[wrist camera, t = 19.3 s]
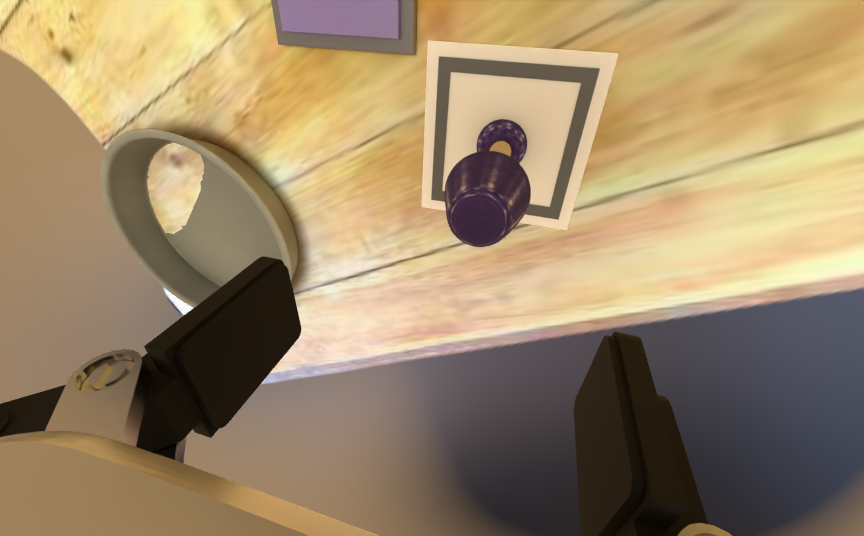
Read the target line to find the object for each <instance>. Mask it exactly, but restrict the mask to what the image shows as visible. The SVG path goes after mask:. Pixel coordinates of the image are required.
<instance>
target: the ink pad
mask: <svg viewBox="0 0 864 536" xmlns="http://www.w3.org/2000/svg"><path fill="white" fill-rule="evenodd" d="M271 1H272V7H273V13H274V20H275V26H276V32H277V38H278V45H291V46H305V47H318V48H331V49H344V50H357V51H370V52H384V53H397V54H410V55H415V54H416V31H417V0H271Z"/></svg>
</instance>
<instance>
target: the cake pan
mask: <svg viewBox="0 0 864 536" xmlns="http://www.w3.org/2000/svg"><path fill="white" fill-rule="evenodd" d="M173 142H175V143H178V144H180V145H183V146H185V147H188V148H190V149H192V150H194V151H195V152H197V153H199V154H201V156H202V159H203V162H204V174H203V180H202V181H201V191H200V194H199V196H198V199H197V201H196V203H195V205H194V208H193V210H192V212H191V215H190V217H189V219H188V222H187V224H186V225H185V226H182V227H183V229H181V230H180V231H178V232H176V233H175V234H170V233H165V232H164V230H163V229H162V227H161V225H160V223H159V221H158V219H157V218H156V215H155V213H154V210H153V208H152V205H151V202H150V198H149V193H148V185H147V179H148V170H149V165H150V163H151V161H152V159H153V157H154V155H155V154H156V153H157V152H158V151H159V150H160V149H161V148H162V147H164V146H165V145H167V144H170V143H173ZM100 179H101V189H102V193H103V198H104V202H105V205H106V208H107V211H108V213H109V216H110V218H111V220H112V223H113V224H114V227H115V229H116V230H117V232H118V234H119V236H120V237H121V239H122V240H123V242H124V244H125V245H126V246H127V248H128V249H129V251H130V252H131V253H132V255H133V256H134V257H135V258H136V260H137V261H138V262H139V263H140V264H141V265H142V267H143V268H144V269H145V270H146V271H147V272H148V273H149V274H150V275H151V276H152V277H153V278H154V279H155V280H156V281H158V282H159V283H160V284H161V285H162V286H163V287H164V288H166V289H167V290H168V291H169V292H171V293H172V294H173V295H175V296H176V297H177V298H179V299H180V300H182V301H183V302H185V303H187V304H188V305H190V306H192V307H194V308H195V307H196V306H197V305H199V304H200V303H201V302H202V301H204V300H205V299H206V298H208V297H209V296H210V295H211V294H213V293H214V292H215V291H217V290H218V289H219V288H221V287H222V286H223V285H224V284H226V283H227V282H228V281H230V280H231V279H232V278H234V277H235V276H236V275H237V274H239V273H240V272H241V271H243V270H244V269H245V268H246V267H248V266H249V265H250V264H252V263H253V262H254V261H256V260H257V259H258V258H260V257H262V256H266V257H271V258H275V259H280V260H282V261H283V262H284V265H285V266H287V268H288V271H289V275H290V280H291V282H292V278H293V276H294V274H295V271H296V268H297V263H298V243H297V238H296V234H295V230H294V227H293V224H292V222H291V220H290V217H289V215H288V213H287V211H286V209H285V208H284V206H283V204H282V203H281V201H280V199H279V198H278V196H277V195H276V194H275V192H274V191H273V190H272V188H271V187H270V186H269V185H268V184H267V182H266V181H265V180H264V179H263V178H262V177H261V176H260V175H259V174H258V173H257V172H256V171H255V170H254V169H253V168H251V167H250V166H249V165H248V164H247V163H245V162H244V161H243V160H241V159H240V158H238V157H237V156H235V155H234V154H232V153H231V152H229V151H227V150H225V149H223V148H221V147H219V146H217V145H214V144H212V143H209V142H206V141H202V140H197V139H188V138H185V137H183V136H180V135H178V134H175V133H171V132H167V131H163V130H157V129H136V130H131V131H129V132H125V133H123V134H122V135H120V136H118V137H117V138H116V139H115V140H114V141H113V142H112V143H111V144H110V145H109V147H108V148H107V150H106V152H105V154H104V157H103V159H102V164H101V174H100Z"/></svg>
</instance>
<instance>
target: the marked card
mask: <svg viewBox="0 0 864 536" xmlns="http://www.w3.org/2000/svg"><path fill="white" fill-rule="evenodd" d="M618 56H619V53H608V52H593V51H579V50H564V49H549V48H534V47H519V46H504V45H489V44H475V43H460V42H445V41H430V40H428V48H427V75H426V101H425V128H424V154H423V181H422V207H425V208H431V209H438V210H444V211H446V207H445V197H444V192H445V184H446V181H447V178H448V176H449V174H450V172H451V170H452V169H453V167H454V166H455V165H456V164H457V163H458V162H459V161H460V160H462V159H463V158H464V157H466V156H468V155H470V154H472V153H476V152H477V139H478V136H479V134H480V132H481V131H482V129H483V128H484V127H485V126H486V125H488V124H489V123H490V122H492V121H495V120H499V119H506V120H511V121H513V122H515V123H517V124H518V125H519V126H521V128H522V129H523V131H524V132H525V134H526V138H527V150H526V153H525V156H524V158H523V159H522V161H521V162H520V163H519V164H520V165H521V166H522V168H523V169H524V171H525V172H526V174H527V176H528V179H529V183H530V187H531V198H530V203H529V206H528V209H527V211H526V213H525V215H524V216H523V218H522V219H521V220H520V222H519V223H524V224H530V225H537V226H543V227H549V228H555V229H561V230H567V228H568V225H569V222H570V218H571V215H572V211H573V208H574V205H575V201H576V198H577V195H578V191H579V188H580V184H581V181H582V178H583V174H584V171H585V167H586V164H587V161H588V157H589V154H590V151H591V147H592V144H593V140H594V137H595V134H596V130H597V127H598V123H599V120H600V117H601V113H602V110H603V107H604V103H605V100H606V96H607V93H608V90H609V86H610V83H611V79H612V76H613V73H614V69H615V66H616V63H617V59H618Z"/></svg>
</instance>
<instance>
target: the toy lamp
mask: <svg viewBox="0 0 864 536" xmlns="http://www.w3.org/2000/svg"><path fill="white" fill-rule="evenodd" d="M526 150H527V138H526V134H525V132H524V131H523V129H522V128H521V126H519V125H518V124H517V123H515V122H513V121H511V120H506V119H499V120H495V121H492V122H490V123H489V124H488V125H486V126H485V127H484V128H483V129H482V131H481V132H480V134H479V136H478V139H477V152H476V153H472V154H470V155H468V156H466V157H464V158H463V159H462V160H460V161H459V162H458V163H457V164H456V165H455V166H454V167H453V169H452V170H451V172H450V174H449V176H448V178H447V181H446V184H445V192H444V197H445V207H446V214H447V220H448V224H449V227H450V228H451V230H452V232H453V234H454V235H455V236H456V237H457V238H458V239H459V240H461V241H462V242H464V243H466V244H468V245H471V246H475V247H484V246H490V245H493V244H495V243H497V242H499V241H500V240H502V239H503V238H504V237H505V236H506V235H507V234H508V233H510V231H511V230H512V229H513V228H514V227H515V226H516V225H517V224H518V223H519V222H520V220H521V219H522V218H523V216H524V215H525V213H526V211H527V209H528V206H529V203H530V198H531V187H530V183H529V179H528V176H527V174H526V172H525V171H524V169H523V168H522V166H521V165H520V164H519V163H520V162H521V161H522V159H523V158H524V156H525V153H526Z"/></svg>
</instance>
